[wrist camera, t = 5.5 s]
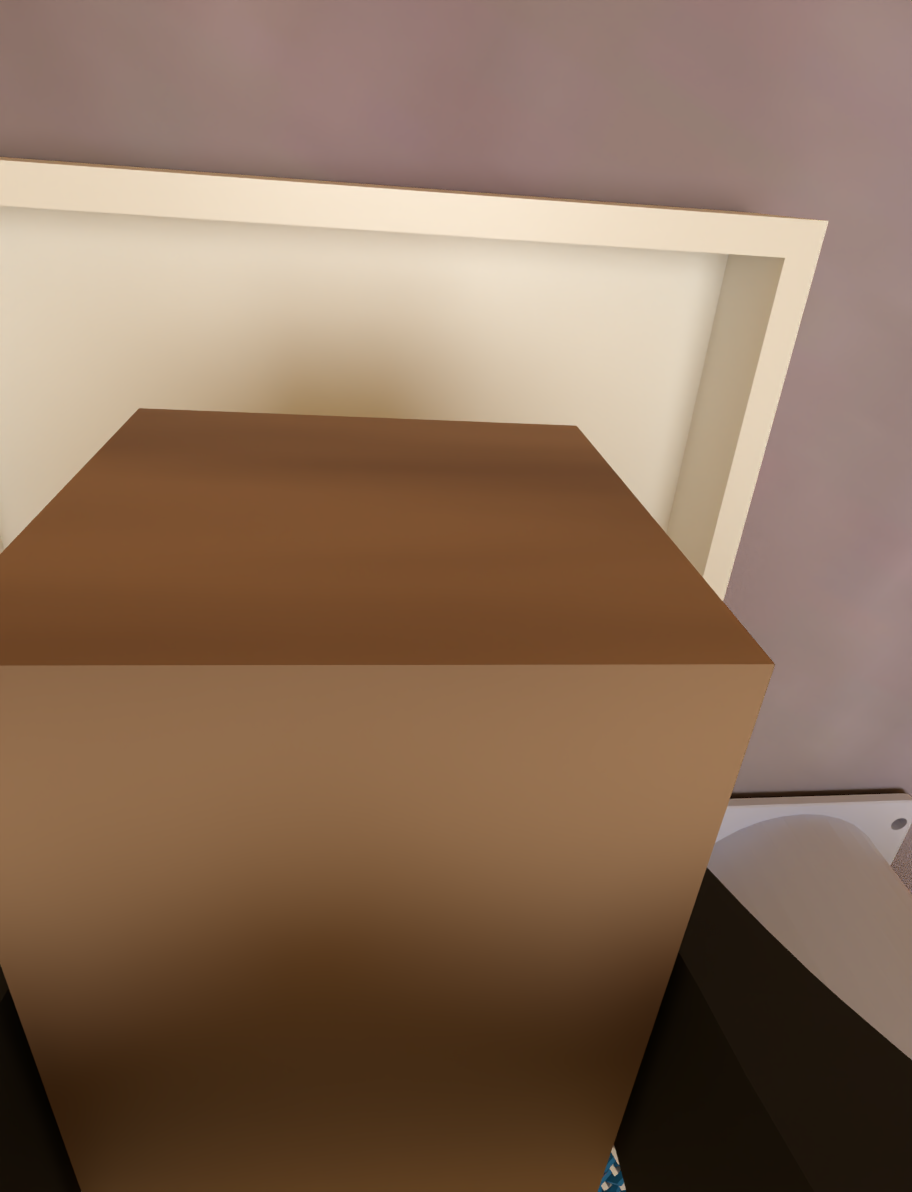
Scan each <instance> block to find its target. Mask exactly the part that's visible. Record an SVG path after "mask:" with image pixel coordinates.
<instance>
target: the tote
mask: <svg viewBox="0 0 912 1192" xmlns="http://www.w3.org/2000/svg"><path fill="white" fill-rule="evenodd" d="M827 225H828V221H823V220H814V219H805V218H795V217H786V216H777V215H768V214H759V213H749V212H736V211H723V210H709V209H696V208H682V207H669V206H655V205H642V204H628V203H615V202H601V201H588V200H574V199H561V198H547V197H534V196H520V195H507V194H493V193H480V192H466V191H453V190H440V189H426V188H413V187H399V186H386V185H372V184H359V183H345V182H332V181H318V180H305V179H291V178H278V177H264V176H251V175H237V174H224V173H210V172H197V171H183V170H170V169H156V168H143V167H130V166H116V165H103V164H89V163H76V162H62V161H49V160H35V159H22V158H8V157H0V554H1V553H2V552H3V551H4V550H5V549H6V547H7V546H8V545H9V544H10V543H11V542H12V541H13V540H14V539H15V538H16V537H17V536H18V535H19V534H20V533H21V532H22V531H23V530H24V529H25V527H26V526H27V525H28V524H29V523H30V522H31V521H32V520H33V519H34V518H35V517H36V516H37V515H38V514H39V513H40V512H41V511H42V510H43V509H44V508H45V506H46V505H47V504H48V503H49V502H50V501H51V500H52V499H53V498H54V497H55V496H56V495H57V494H58V493H59V492H60V491H61V490H62V489H63V488H64V487H65V485H66V484H67V483H68V482H69V481H70V480H71V479H72V478H73V477H74V476H75V475H76V474H77V473H78V472H79V471H80V470H81V469H82V468H83V467H84V465H85V464H86V463H87V462H88V461H89V460H90V459H91V458H92V457H93V456H94V455H95V454H96V453H97V452H98V451H99V450H100V449H101V448H102V447H103V446H104V444H105V443H106V442H107V441H108V440H109V439H110V438H111V437H112V436H113V435H114V434H115V433H116V432H117V431H118V430H119V429H120V428H121V427H122V426H123V425H124V423H125V422H126V421H127V420H128V419H129V418H130V417H131V416H132V415H133V414H134V413H135V412H136V411H137V410H138V409H139V408H147V409H172V410H197V411H222V412H247V413H272V414H297V415H323V416H348V417H373V418H398V419H423V420H448V421H473V422H498V423H523V424H548V425H573V426H577V427H578V428H579V429H580V430H581V431H582V433H583V434H584V435H585V436H586V437H587V439H588V440H589V441H590V442H591V443H592V445H593V446H594V447H595V448H596V450H597V451H598V452H599V453H600V454H601V456H602V457H603V458H604V459H605V460H606V462H607V463H608V464H609V465H610V466H611V468H612V469H613V470H614V471H615V472H616V474H617V475H618V476H619V477H620V478H621V480H622V481H623V482H624V483H625V484H626V486H627V487H628V488H629V489H630V490H631V492H632V493H633V494H634V495H635V496H636V498H637V499H638V500H639V501H640V502H641V504H642V505H643V506H644V507H645V508H646V510H647V511H648V512H649V513H650V514H651V516H652V517H653V518H654V519H655V521H656V522H657V523H658V524H659V525H660V527H661V528H662V529H663V530H664V531H665V533H666V534H667V535H668V536H669V537H670V539H671V540H672V541H673V542H674V543H675V545H676V546H677V547H678V548H679V549H680V551H681V552H682V553H683V554H684V555H685V557H686V558H687V559H688V560H689V561H690V563H691V564H692V565H693V566H694V567H695V569H696V570H697V571H698V572H699V573H700V575H701V576H702V577H703V578H704V579H705V581H706V582H707V583H708V584H709V586H710V587H711V588H712V589H713V590H714V592H715V593H716V594H717V595H718V596H719V598H720V599H721V600H722V601H723V600H724V596H725V593H726V589H727V586H728V582H729V578H730V575H731V571H732V568H733V564H734V560H735V557H736V553H737V550H738V546H739V542H740V539H741V535H742V532H743V528H744V524H745V521H746V517H747V513H748V510H749V506H750V503H751V499H752V495H753V492H754V488H755V485H756V481H757V477H758V474H759V470H760V467H761V463H762V459H763V456H764V452H765V449H766V445H767V441H768V438H769V434H770V430H771V427H772V423H773V420H774V416H775V412H776V409H777V405H778V402H779V398H780V394H781V391H782V387H783V384H784V380H785V376H786V373H787V369H788V366H789V362H790V358H791V355H792V351H793V347H794V344H795V340H796V337H797V333H798V329H799V326H800V322H801V319H802V315H803V311H804V308H805V304H806V301H807V297H808V293H809V290H810V286H811V283H812V279H813V275H814V272H815V268H816V265H817V261H818V257H819V254H820V250H821V246H822V243H823V239H824V236H825V232H826V228H827Z"/></svg>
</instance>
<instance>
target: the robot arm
mask: <svg viewBox="0 0 912 1192" xmlns="http://www.w3.org/2000/svg"><path fill="white" fill-rule="evenodd" d="M911 824H912V796H910V795H909V794H905V793H897V794H865V795H834V796H803V797H771V798H740V799H730V800H729V803H728V806H727V809H726V812H725V815H724V817H723V820H722V823H721V826H720V829H719V832H718V835H717V838H716V841H715V844H714V847H713V850H712V853H711V856H710V859H709V862H708V865H707V868H706V871H705V874H704V877H703V880H702V883H701V886H700V889H699V892H698V895H697V898H696V901H695V904H694V907H693V910H692V913H691V916H690V919H689V922H688V925H687V927H686V930H685V933H684V936H683V939H682V942H681V945H680V948H679V951H678V954H677V957H676V960H675V963H674V966H673V969H672V972H671V975H670V978H669V981H668V984H667V987H666V990H665V993H664V996H663V999H662V1002H661V1005H660V1008H659V1011H658V1014H657V1017H656V1020H655V1023H654V1026H653V1029H652V1032H651V1035H650V1037H649V1040H648V1043H647V1046H646V1049H645V1052H644V1055H643V1058H642V1061H641V1064H640V1067H639V1070H638V1073H637V1076H636V1079H635V1082H634V1085H633V1088H632V1091H631V1094H630V1097H629V1100H628V1103H627V1106H626V1109H625V1112H624V1115H623V1118H622V1121H621V1124H620V1127H619V1130H618V1133H617V1136H616V1139H615V1142H614V1146H615V1150H616V1154H617V1157H618V1161H619V1165H620V1169H621V1173H622V1177H623V1181H624V1184H625V1189H626V1192H912V894H911V893H910V891H909V890H908V889H907V887H906V886H905V885H904V883H903V882H902V881H901V879H900V878H899V877H898V876H897V874H896V873H895V872H894V870H893V869H892V868H891V864H892V862H893V860H894V858H895V856H896V854H897V852H898V850H899V848H900V846H901V844H902V842H903V840H904V838H905V836H906V834H907V832H908V830H909V828H910V826H911ZM0 1192H81V1189H80V1186H79V1183H78V1181H77V1178H76V1175H75V1172H74V1169H73V1167H72V1164H71V1161H70V1158H69V1155H68V1153H67V1150H66V1147H65V1144H64V1141H63V1139H62V1136H61V1133H60V1130H59V1127H58V1124H57V1122H56V1119H55V1116H54V1113H53V1110H52V1108H51V1105H50V1102H49V1099H48V1096H47V1094H46V1091H45V1088H44V1085H43V1082H42V1080H41V1077H40V1074H39V1071H38V1068H37V1066H36V1063H35V1060H34V1057H33V1054H32V1052H31V1049H30V1046H29V1043H28V1040H27V1038H26V1035H25V1032H24V1029H23V1026H22V1024H21V1021H20V1018H19V1015H18V1012H17V1010H16V1007H15V1004H14V1001H13V998H12V996H11V993H10V990H9V987H8V984H7V982H6V979H5V976H4V973H3V970H2V968H1V965H0Z"/></svg>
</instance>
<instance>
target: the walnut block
mask: <svg viewBox="0 0 912 1192" xmlns="http://www.w3.org/2000/svg"><path fill="white" fill-rule="evenodd" d="M774 666H775V664H774V663H773V661H772V660H771V659H770V658H769V657H768V655H767V654H766V653H765V652H764V651H763V649H762V648H761V647H760V646H759V644H758V643H757V642H756V641H755V640H754V638H753V637H752V636H751V635H750V634H749V632H748V631H747V630H746V629H745V628H744V626H743V625H742V624H741V623H740V622H739V620H738V619H737V618H736V617H735V616H734V614H733V613H732V612H731V611H730V610H729V608H728V607H727V606H726V605H725V604H724V602H723V601H722V600H721V599H720V598H719V596H718V595H717V594H716V593H715V592H714V590H713V589H712V588H711V587H710V586H709V584H708V583H707V582H706V581H705V579H704V578H703V577H702V576H701V575H700V573H699V572H698V571H697V570H696V569H695V567H694V566H693V565H692V564H691V563H690V561H689V560H688V559H687V558H686V557H685V555H684V554H683V553H682V552H681V551H680V549H679V548H678V547H677V546H676V545H675V543H674V542H673V541H672V540H671V539H670V537H669V536H668V535H667V534H666V533H665V531H664V530H663V529H662V528H661V527H660V525H659V524H658V523H657V522H656V521H655V519H654V518H653V517H652V516H651V514H650V513H649V512H648V511H647V510H646V508H645V507H644V506H643V505H642V504H641V502H640V501H639V500H638V499H637V498H636V496H635V495H634V494H633V493H632V492H631V490H630V489H629V488H628V487H627V486H626V484H625V483H624V482H623V481H622V480H621V478H620V477H619V476H618V475H617V474H616V472H615V471H614V470H613V469H612V468H611V466H610V465H609V464H608V463H607V462H606V460H605V459H604V458H603V457H602V456H601V454H600V453H599V452H598V451H597V450H596V448H595V447H594V446H593V445H592V443H591V442H590V441H589V440H588V439H587V437H586V436H585V435H584V434H583V433H582V431H581V430H580V429H579V428H578V427H577V426H573V425H548V424H523V423H498V422H473V421H448V420H423V419H398V418H373V417H348V416H323V415H297V414H272V413H247V412H222V411H197V410H172V409H147V408H139V409H138V410H137V411H136V412H135V413H134V414H133V415H132V416H131V417H130V418H129V419H128V420H127V421H126V422H125V423H124V425H123V426H122V427H121V428H120V429H119V430H118V431H117V432H116V433H115V434H114V435H113V436H112V437H111V438H110V439H109V440H108V441H107V442H106V443H105V444H104V446H103V447H102V448H101V449H100V450H99V451H98V452H97V453H96V454H95V455H94V456H93V457H92V458H91V459H90V460H89V461H88V462H87V463H86V464H85V465H84V467H83V468H82V469H81V470H80V471H79V472H78V473H77V474H76V475H75V476H74V477H73V478H72V479H71V480H70V481H69V482H68V483H67V484H66V485H65V487H64V488H63V489H62V490H61V491H60V492H59V493H58V494H57V495H56V496H55V497H54V498H53V499H52V500H51V501H50V502H49V503H48V504H47V505H46V506H45V508H44V509H43V510H42V511H41V512H40V513H39V514H38V515H37V516H36V517H35V518H34V519H33V520H32V521H31V522H30V523H29V524H28V525H27V526H26V527H25V529H24V530H23V531H22V532H21V533H20V534H19V535H18V536H17V537H16V538H15V539H14V540H13V541H12V542H11V543H10V544H9V545H8V546H7V547H6V549H5V550H4V551H3V552H2V553H1V554H0V965H1V968H2V970H3V973H4V976H5V979H6V982H7V984H8V987H9V990H10V993H11V996H12V998H13V1001H14V1004H15V1007H16V1010H17V1012H18V1015H19V1018H20V1021H21V1024H22V1026H23V1029H24V1032H25V1035H26V1038H27V1040H28V1043H29V1046H30V1049H31V1052H32V1054H33V1057H34V1060H35V1063H36V1066H37V1068H38V1071H39V1074H40V1077H41V1080H42V1082H43V1085H44V1088H45V1091H46V1094H47V1096H48V1099H49V1102H50V1105H51V1108H52V1110H53V1113H54V1116H55V1119H56V1122H57V1124H58V1127H59V1130H60V1133H61V1136H62V1139H63V1141H64V1144H65V1147H66V1150H67V1153H68V1155H69V1158H70V1161H71V1164H72V1167H73V1169H74V1172H75V1175H76V1178H77V1181H78V1183H79V1186H80V1189H81V1192H598V1189H599V1186H600V1183H601V1180H602V1177H603V1174H604V1171H605V1168H606V1165H607V1162H608V1159H609V1156H610V1153H611V1150H612V1147H613V1145H614V1142H615V1139H616V1136H617V1133H618V1130H619V1127H620V1124H621V1121H622V1118H623V1115H624V1112H625V1109H626V1106H627V1103H628V1100H629V1097H630V1094H631V1091H632V1088H633V1085H634V1082H635V1079H636V1076H637V1073H638V1070H639V1067H640V1064H641V1061H642V1058H643V1055H644V1052H645V1049H646V1046H647V1043H648V1040H649V1037H650V1035H651V1032H652V1029H653V1026H654V1023H655V1020H656V1017H657V1014H658V1011H659V1008H660V1005H661V1002H662V999H663V996H664V993H665V990H666V987H667V984H668V981H669V978H670V975H671V972H672V969H673V966H674V963H675V960H676V957H677V954H678V951H679V948H680V945H681V942H682V939H683V936H684V933H685V930H686V927H687V925H688V922H689V919H690V916H691V913H692V910H693V907H694V904H695V901H696V898H697V895H698V892H699V889H700V886H701V883H702V880H703V877H704V874H705V871H706V868H707V865H708V862H709V859H710V856H711V853H712V850H713V847H714V844H715V841H716V838H717V835H718V832H719V829H720V826H721V823H722V820H723V817H724V815H725V812H726V809H727V806H728V803H729V800H730V797H731V794H732V791H733V788H734V785H735V782H736V779H737V776H738V773H739V770H740V767H741V764H742V761H743V758H744V755H745V752H746V749H747V746H748V743H749V740H750V737H751V734H752V731H753V728H754V725H755V722H756V719H757V716H758V713H759V710H760V707H761V705H762V702H763V699H764V696H765V693H766V690H767V687H768V684H769V681H770V678H771V675H772V672H773V669H774Z"/></svg>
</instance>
